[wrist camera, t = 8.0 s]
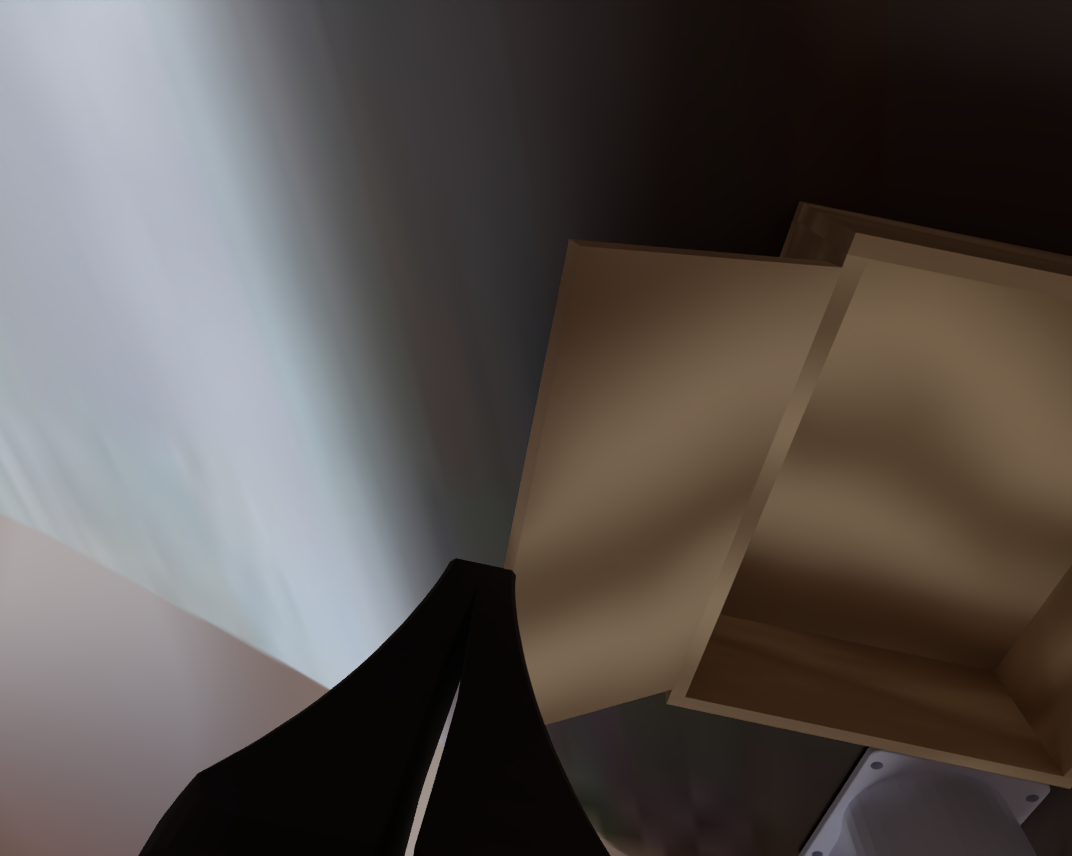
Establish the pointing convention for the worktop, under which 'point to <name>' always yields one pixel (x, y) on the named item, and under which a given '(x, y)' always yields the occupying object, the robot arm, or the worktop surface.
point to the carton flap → (648, 455)
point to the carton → (911, 512)
